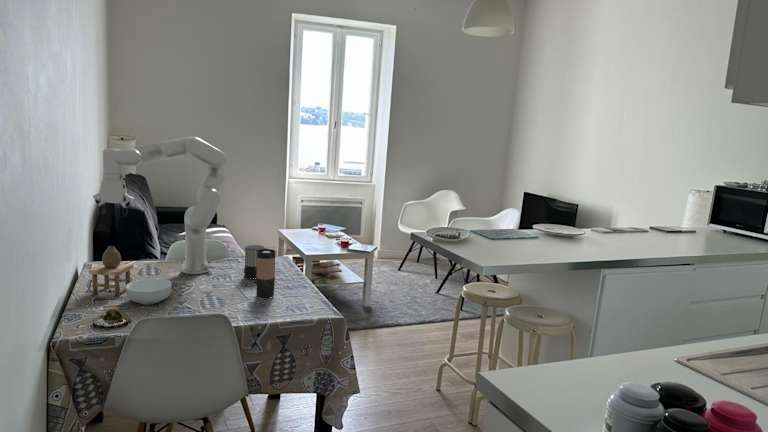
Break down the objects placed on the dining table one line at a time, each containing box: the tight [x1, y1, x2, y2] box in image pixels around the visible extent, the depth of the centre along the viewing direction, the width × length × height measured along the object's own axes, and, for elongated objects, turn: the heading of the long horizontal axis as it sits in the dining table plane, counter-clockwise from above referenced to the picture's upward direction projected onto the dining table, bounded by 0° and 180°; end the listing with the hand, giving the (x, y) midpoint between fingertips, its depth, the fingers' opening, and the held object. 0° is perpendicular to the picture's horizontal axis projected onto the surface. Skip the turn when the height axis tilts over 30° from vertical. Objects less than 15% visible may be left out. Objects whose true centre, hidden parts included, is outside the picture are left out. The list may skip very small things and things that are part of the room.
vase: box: [101, 245, 122, 269], centre depth 221 cm, size 7×7×9 cm
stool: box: [88, 263, 134, 298], centre depth 222 cm, size 12×12×10 cm
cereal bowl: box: [125, 278, 172, 305], centre depth 214 cm, size 17×17×7 cm
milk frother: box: [243, 244, 268, 280], centre depth 259 cm, size 14×16×15 cm
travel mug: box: [255, 248, 276, 299], centre depth 228 cm, size 8×8×20 cm
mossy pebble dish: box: [92, 306, 131, 328], centre depth 190 cm, size 12×12×8 cm
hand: (113, 215), depth 238 cm, fingers open, 9 cm apart
